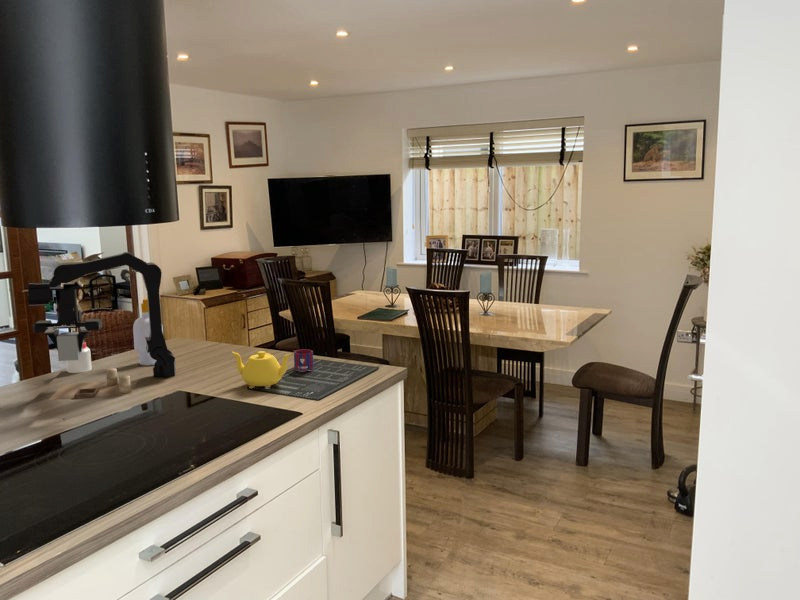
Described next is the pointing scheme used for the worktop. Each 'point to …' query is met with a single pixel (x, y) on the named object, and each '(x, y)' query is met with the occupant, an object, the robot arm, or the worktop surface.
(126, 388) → the maple peg
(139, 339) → the soap bottle
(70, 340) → the block
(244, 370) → the teapot
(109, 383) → the peg
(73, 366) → the pill bottle
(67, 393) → the board
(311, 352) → the mug
